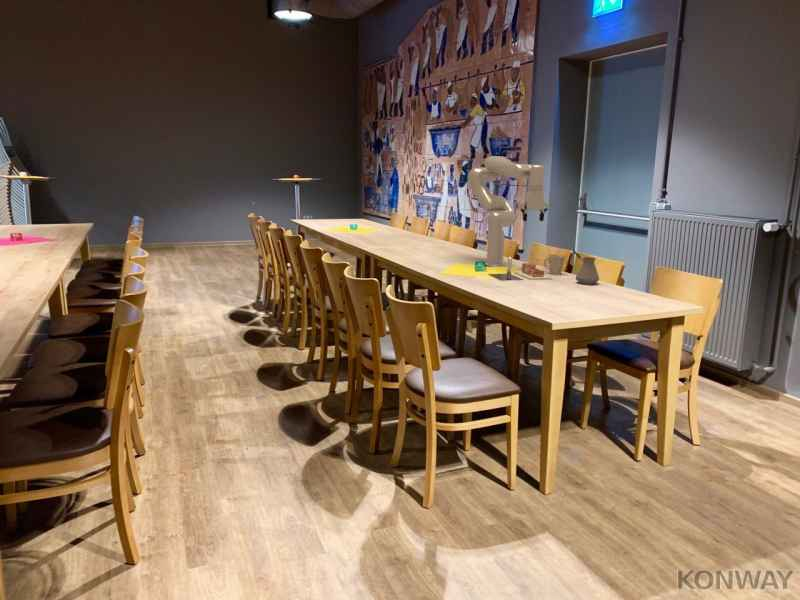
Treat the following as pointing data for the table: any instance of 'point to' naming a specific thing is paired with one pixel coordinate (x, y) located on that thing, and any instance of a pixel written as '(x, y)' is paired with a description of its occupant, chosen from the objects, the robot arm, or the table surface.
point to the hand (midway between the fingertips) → (533, 220)
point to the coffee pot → (587, 271)
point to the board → (531, 276)
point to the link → (532, 270)
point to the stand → (506, 276)
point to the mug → (555, 264)
